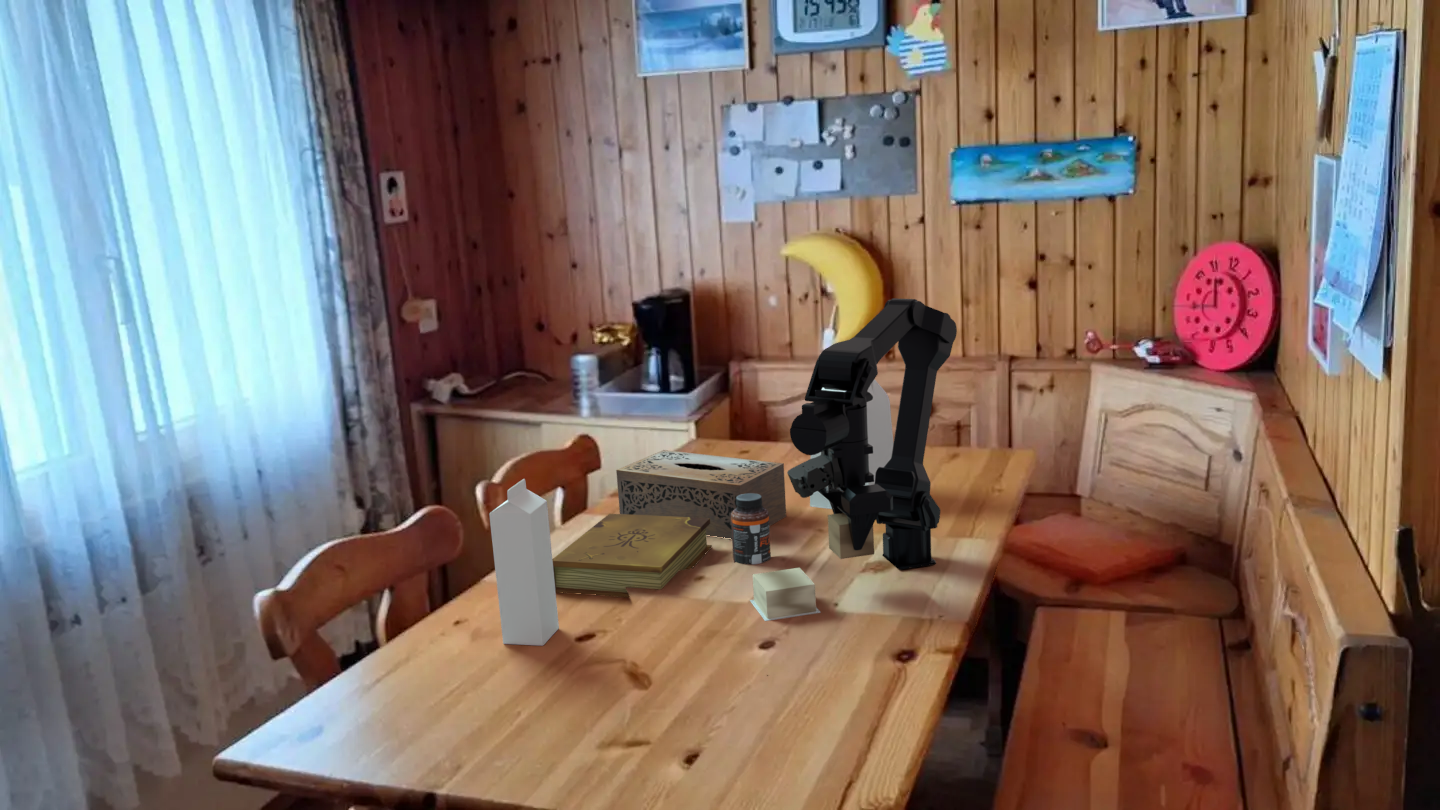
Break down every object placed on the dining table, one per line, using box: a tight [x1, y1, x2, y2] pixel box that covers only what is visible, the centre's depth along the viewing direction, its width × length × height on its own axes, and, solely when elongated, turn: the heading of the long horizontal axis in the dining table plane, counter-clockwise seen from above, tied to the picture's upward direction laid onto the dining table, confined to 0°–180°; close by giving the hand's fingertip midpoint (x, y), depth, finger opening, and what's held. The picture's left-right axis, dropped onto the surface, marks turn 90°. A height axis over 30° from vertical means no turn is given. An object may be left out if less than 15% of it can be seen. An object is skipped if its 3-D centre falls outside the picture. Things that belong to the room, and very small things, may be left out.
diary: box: [552, 513, 713, 598], centre depth 192 cm, size 23×19×6 cm
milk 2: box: [809, 378, 894, 510], centre depth 217 cm, size 12×12×26 cm
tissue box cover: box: [615, 449, 787, 539], centre depth 214 cm, size 26×14×10 cm, turn 57°
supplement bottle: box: [731, 493, 772, 565], centre depth 189 cm, size 6×6×11 cm
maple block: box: [752, 567, 817, 619], centre depth 170 cm, size 7×7×4 cm
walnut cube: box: [827, 513, 875, 560], centre depth 172 cm, size 5×5×5 cm
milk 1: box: [488, 478, 560, 646], centre depth 166 cm, size 6×6×22 cm
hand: (851, 543), depth 173 cm, fingers closed on walnut cube, 5 cm apart
